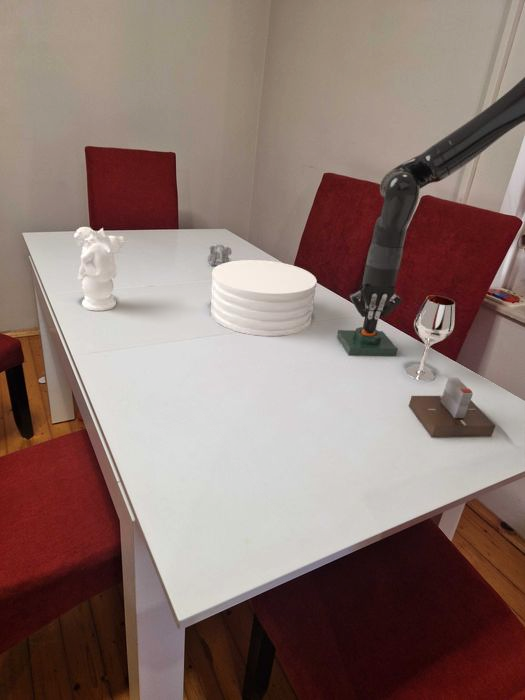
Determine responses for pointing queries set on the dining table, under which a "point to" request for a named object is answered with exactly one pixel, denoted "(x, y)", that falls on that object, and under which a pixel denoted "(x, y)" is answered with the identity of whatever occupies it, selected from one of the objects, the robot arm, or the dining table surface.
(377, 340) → the button box
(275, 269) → the plate stack
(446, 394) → the tap knob
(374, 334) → the button
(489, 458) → the dining table surface
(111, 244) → the cherub figurine
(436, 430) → the panel
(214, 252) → the elephant statuette
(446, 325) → the wineglass
